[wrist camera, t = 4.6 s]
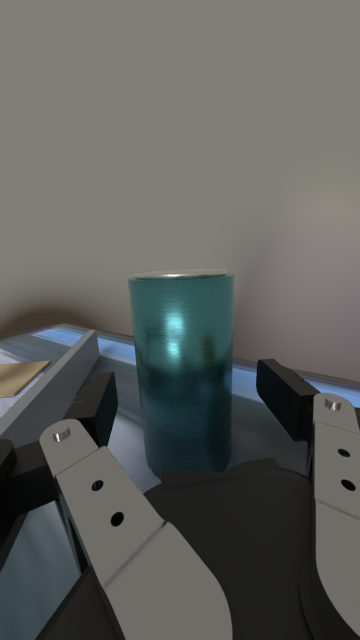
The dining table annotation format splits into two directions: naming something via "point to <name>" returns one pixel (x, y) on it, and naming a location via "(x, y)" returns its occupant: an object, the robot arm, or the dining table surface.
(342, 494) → the robot arm
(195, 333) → the can
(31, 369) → the coaster
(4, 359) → the dining table surface
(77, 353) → the acrylic wall
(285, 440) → the dining table surface
